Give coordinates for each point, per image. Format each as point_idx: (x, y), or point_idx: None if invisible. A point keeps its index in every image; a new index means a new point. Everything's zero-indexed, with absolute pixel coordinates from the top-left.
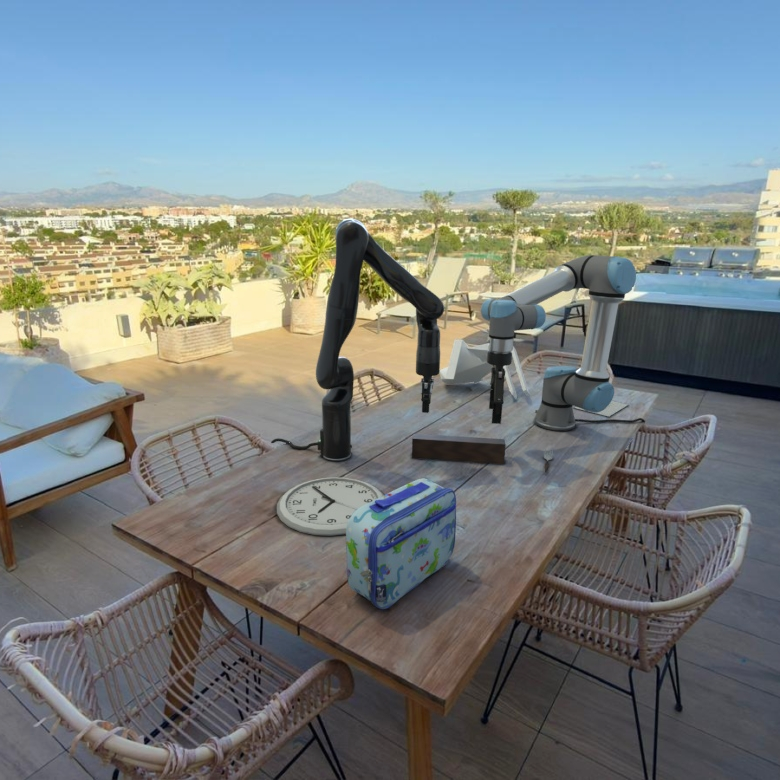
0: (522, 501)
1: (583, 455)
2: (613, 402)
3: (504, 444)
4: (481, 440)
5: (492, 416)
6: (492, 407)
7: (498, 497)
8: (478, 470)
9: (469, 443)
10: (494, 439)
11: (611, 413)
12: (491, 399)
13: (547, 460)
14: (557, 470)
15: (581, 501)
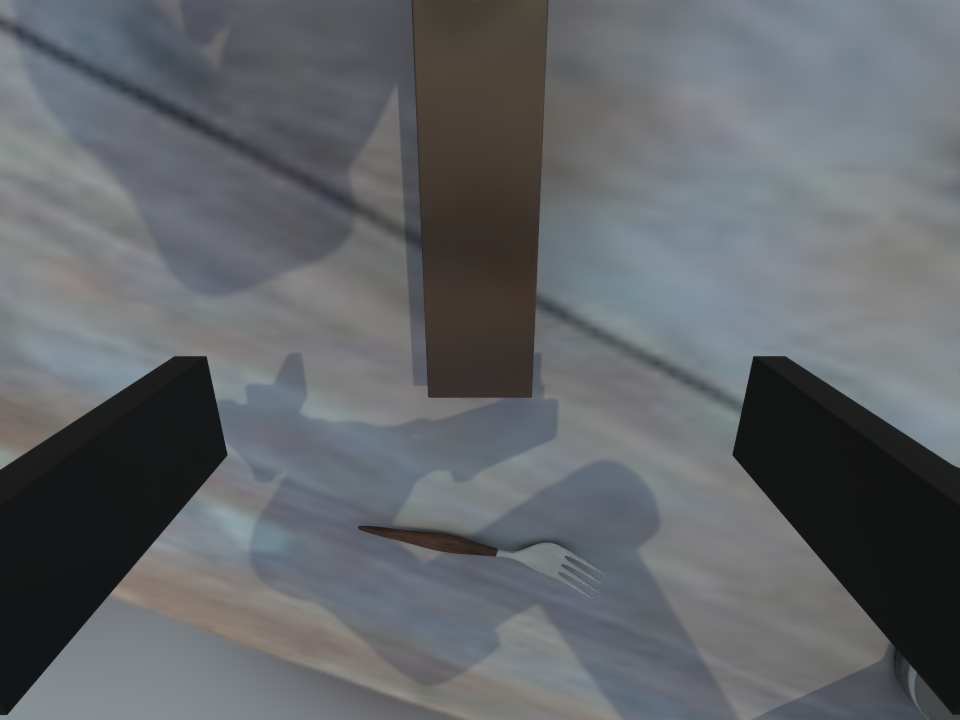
0: (36, 392)
1: (600, 683)
2: None
3: (428, 389)
4: (475, 217)
5: (107, 400)
6: (755, 407)
7: (21, 282)
8: (321, 185)
9: (417, 103)
10: (513, 325)
11: None
12: (841, 451)
13: (498, 554)
14: (420, 571)
15: (147, 605)
